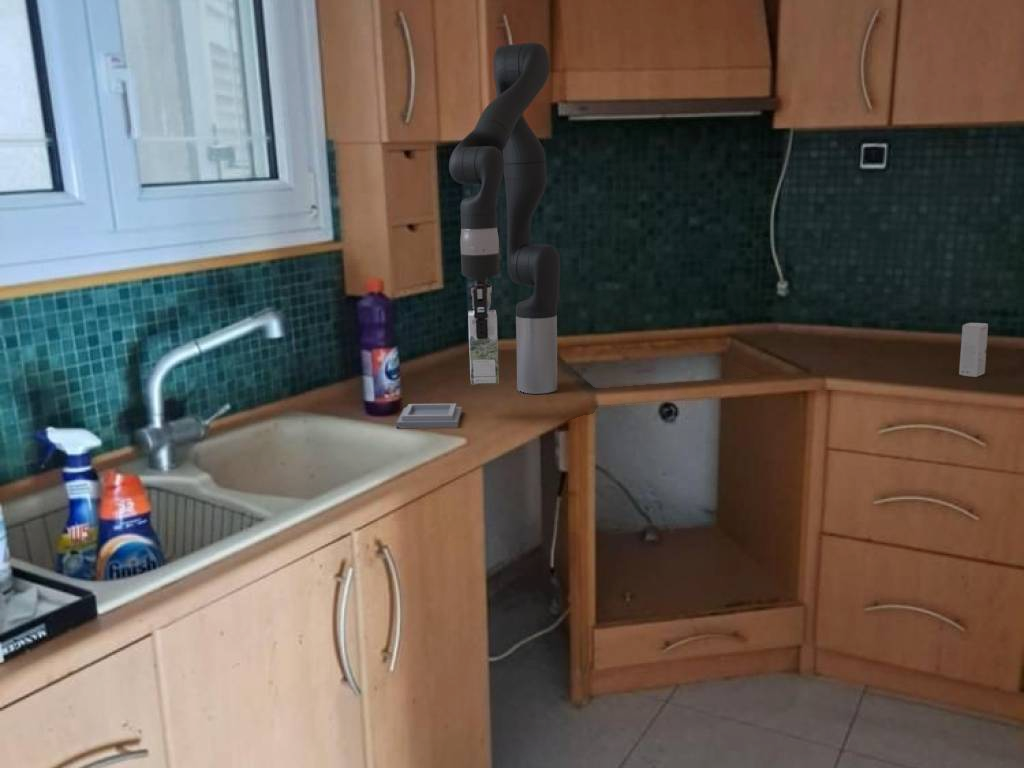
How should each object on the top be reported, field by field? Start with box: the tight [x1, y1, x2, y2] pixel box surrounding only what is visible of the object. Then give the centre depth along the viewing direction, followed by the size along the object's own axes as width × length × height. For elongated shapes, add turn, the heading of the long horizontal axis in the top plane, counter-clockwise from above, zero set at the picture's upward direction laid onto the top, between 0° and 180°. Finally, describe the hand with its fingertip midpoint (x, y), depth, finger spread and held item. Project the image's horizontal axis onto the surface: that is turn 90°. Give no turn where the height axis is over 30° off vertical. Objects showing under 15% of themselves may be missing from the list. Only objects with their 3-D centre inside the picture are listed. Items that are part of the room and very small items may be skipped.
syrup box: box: [467, 309, 500, 386], centre depth 188 cm, size 6×6×14 cm
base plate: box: [395, 402, 463, 429], centre depth 190 cm, size 12×12×2 cm
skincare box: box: [958, 322, 989, 378], centre depth 222 cm, size 6×4×12 cm
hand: (483, 335), depth 187 cm, fingers closed on syrup box, 6 cm apart
